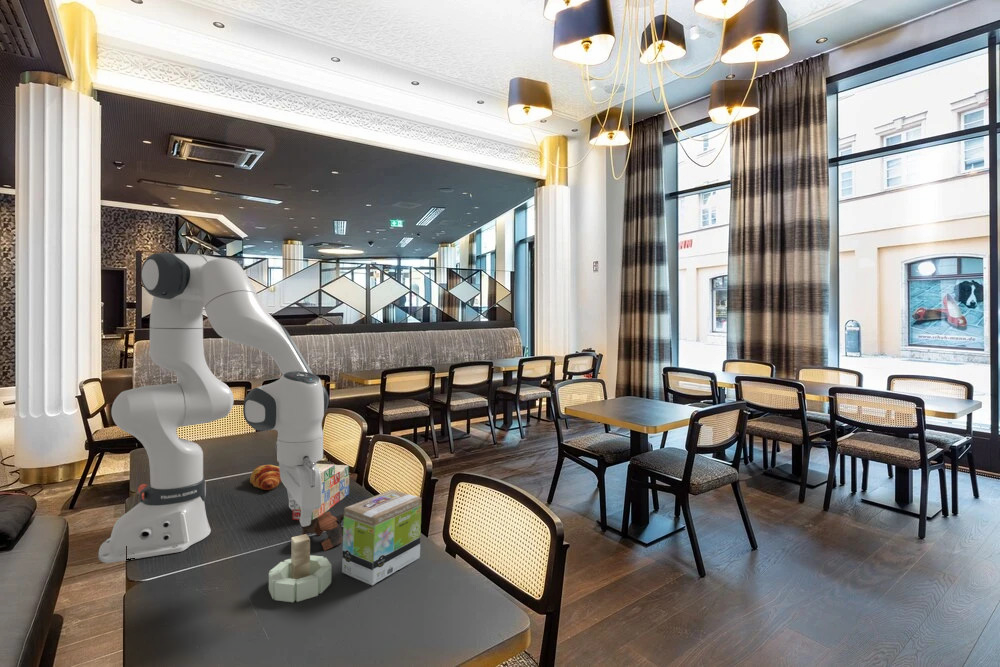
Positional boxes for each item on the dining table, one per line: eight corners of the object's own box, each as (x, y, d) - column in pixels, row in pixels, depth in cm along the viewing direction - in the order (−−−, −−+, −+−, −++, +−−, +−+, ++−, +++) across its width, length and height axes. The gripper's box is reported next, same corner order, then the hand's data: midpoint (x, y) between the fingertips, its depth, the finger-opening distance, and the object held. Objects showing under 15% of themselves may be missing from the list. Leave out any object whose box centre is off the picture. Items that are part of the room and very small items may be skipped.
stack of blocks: (331, 492, 155) (331, 454, 155) (349, 494, 154) (349, 455, 154) (291, 520, 134) (291, 476, 134) (312, 522, 133) (312, 477, 132)
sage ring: (276, 608, 93) (276, 590, 93) (265, 581, 103) (265, 565, 102) (336, 589, 100) (336, 572, 100) (321, 566, 109) (321, 550, 109)
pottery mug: (313, 558, 114) (300, 524, 115) (307, 560, 121) (295, 528, 123) (361, 532, 121) (348, 501, 122) (352, 535, 128) (340, 506, 130)
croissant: (254, 485, 170) (242, 467, 168) (281, 468, 175) (270, 450, 173) (261, 504, 152) (248, 484, 150) (291, 484, 157) (279, 464, 155)
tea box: (373, 587, 101) (374, 517, 100) (341, 573, 106) (341, 507, 106) (421, 558, 114) (422, 495, 113) (390, 547, 119) (391, 487, 118)
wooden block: (294, 591, 99) (294, 542, 99) (291, 584, 102) (291, 537, 101) (309, 586, 101) (310, 539, 101) (306, 580, 103) (306, 533, 103)
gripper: (331, 462, 94) (329, 532, 94) (304, 437, 110) (303, 497, 111) (296, 467, 90) (295, 540, 91) (274, 441, 107) (273, 502, 107)
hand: (299, 516), depth 101 cm, fingers open, 8 cm apart
